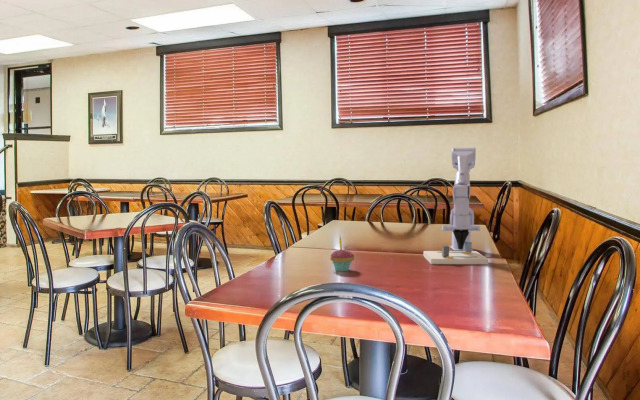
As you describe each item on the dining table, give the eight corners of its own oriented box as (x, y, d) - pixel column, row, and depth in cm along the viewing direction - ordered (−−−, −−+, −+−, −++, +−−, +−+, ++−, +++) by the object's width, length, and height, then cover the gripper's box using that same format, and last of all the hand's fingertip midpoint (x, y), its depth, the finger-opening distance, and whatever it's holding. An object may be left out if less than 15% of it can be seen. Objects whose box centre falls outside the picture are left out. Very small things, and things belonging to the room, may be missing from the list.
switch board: (423, 255, 186) (423, 249, 186) (475, 256, 185) (476, 249, 185) (431, 264, 171) (431, 257, 171) (488, 264, 170) (488, 257, 170)
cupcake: (326, 268, 165) (326, 235, 164) (347, 266, 168) (347, 233, 167) (336, 273, 157) (336, 238, 156) (358, 271, 160) (358, 237, 159)
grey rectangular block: (464, 250, 184) (464, 240, 184) (469, 250, 184) (469, 240, 184) (466, 252, 181) (466, 242, 181) (471, 252, 181) (471, 242, 181)
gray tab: (441, 255, 176) (441, 244, 175) (446, 255, 176) (447, 244, 175) (443, 256, 173) (443, 246, 172) (448, 256, 173) (449, 246, 172)
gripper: (445, 215, 178) (444, 250, 179) (482, 215, 177) (482, 250, 179) (440, 213, 185) (440, 247, 186) (477, 213, 184) (476, 247, 186)
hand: (460, 248), depth 183 cm, fingers closed
